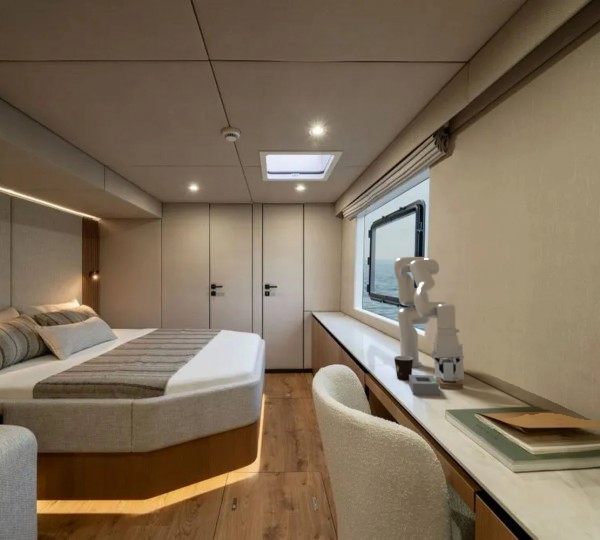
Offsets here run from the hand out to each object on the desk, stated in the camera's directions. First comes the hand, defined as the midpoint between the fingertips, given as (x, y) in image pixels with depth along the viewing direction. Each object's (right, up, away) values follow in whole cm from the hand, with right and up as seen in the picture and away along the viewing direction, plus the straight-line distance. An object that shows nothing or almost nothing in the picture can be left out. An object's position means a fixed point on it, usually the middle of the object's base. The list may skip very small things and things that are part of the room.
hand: (447, 372), depth 142 cm
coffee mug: (-15, -7, +12) cm, 21 cm away
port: (-13, -6, -6) cm, 16 cm away
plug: (0, -3, 0) cm, 3 cm away
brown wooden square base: (0, -6, -1) cm, 6 cm away
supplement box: (+6, -6, +10) cm, 13 cm away
